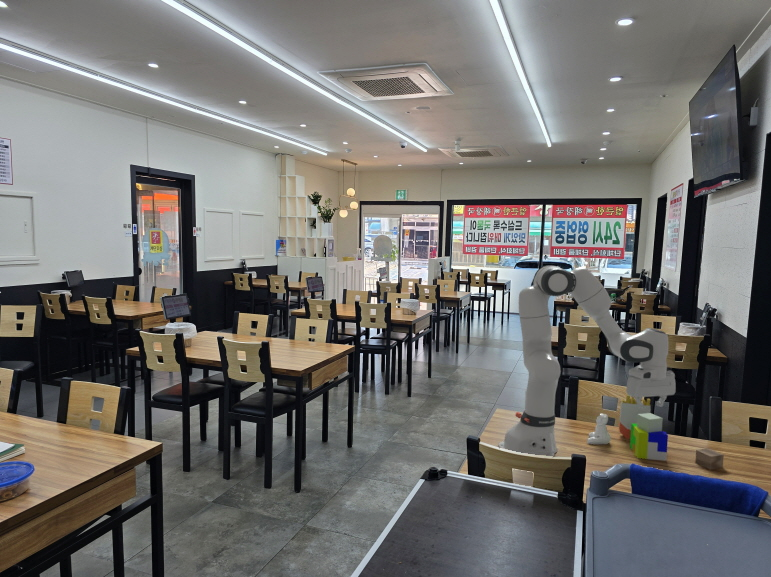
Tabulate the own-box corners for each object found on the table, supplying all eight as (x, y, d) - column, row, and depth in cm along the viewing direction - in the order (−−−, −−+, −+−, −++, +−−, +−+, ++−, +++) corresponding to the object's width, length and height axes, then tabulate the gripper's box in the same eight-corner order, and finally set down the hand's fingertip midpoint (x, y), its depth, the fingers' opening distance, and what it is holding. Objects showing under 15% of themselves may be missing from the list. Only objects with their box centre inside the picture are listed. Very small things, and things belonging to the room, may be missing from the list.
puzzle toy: (666, 460, 187) (668, 434, 186) (637, 458, 189) (638, 432, 188) (657, 450, 197) (659, 425, 196) (630, 447, 199) (631, 423, 198)
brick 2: (710, 470, 180) (711, 456, 180) (695, 463, 186) (696, 449, 185) (722, 468, 182) (723, 454, 181) (707, 461, 188) (708, 448, 187)
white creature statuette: (589, 436, 211) (590, 408, 210) (611, 439, 207) (613, 411, 206) (586, 443, 202) (588, 414, 201) (610, 448, 198) (611, 418, 197)
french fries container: (618, 433, 214) (621, 392, 212) (647, 437, 210) (649, 395, 208) (619, 437, 209) (621, 395, 208) (648, 441, 205) (651, 398, 204)
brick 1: (648, 432, 189) (649, 419, 188) (636, 426, 194) (637, 414, 194) (661, 431, 190) (662, 418, 190) (649, 425, 196) (650, 412, 195)
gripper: (667, 368, 196) (664, 402, 197) (625, 370, 190) (622, 405, 192) (681, 372, 190) (678, 408, 191) (637, 374, 184) (634, 411, 186)
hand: (649, 406), depth 191 cm, fingers open, 8 cm apart
